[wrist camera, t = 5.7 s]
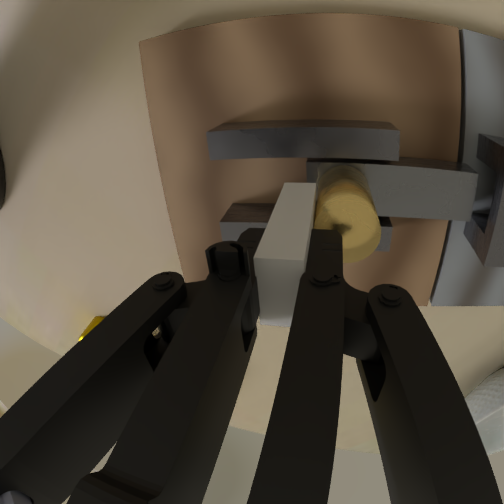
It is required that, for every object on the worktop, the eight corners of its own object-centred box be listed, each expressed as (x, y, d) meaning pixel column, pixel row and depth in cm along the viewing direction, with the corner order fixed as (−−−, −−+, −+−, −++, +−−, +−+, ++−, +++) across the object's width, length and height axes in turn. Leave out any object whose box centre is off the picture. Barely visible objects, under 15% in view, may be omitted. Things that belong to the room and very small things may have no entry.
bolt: (309, 199, 19) (298, 263, 14) (308, 153, 18) (297, 197, 12) (459, 207, 17) (503, 270, 11) (466, 163, 15) (520, 212, 10)
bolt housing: (235, 224, 22) (217, 255, 19) (222, 123, 18) (197, 137, 15) (529, 238, 16) (553, 268, 13) (548, 148, 13) (581, 168, 10)
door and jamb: (196, 278, 28) (188, 292, 26) (153, 42, 18) (138, 41, 16) (501, 290, 21) (509, 305, 20) (541, 59, 11) (556, 61, 9)
